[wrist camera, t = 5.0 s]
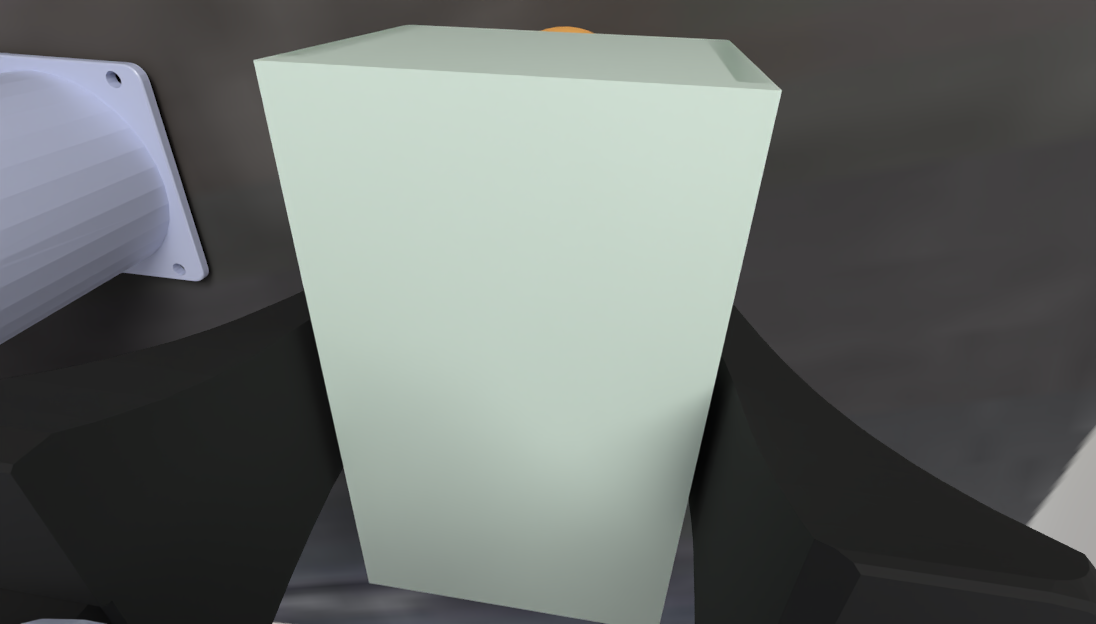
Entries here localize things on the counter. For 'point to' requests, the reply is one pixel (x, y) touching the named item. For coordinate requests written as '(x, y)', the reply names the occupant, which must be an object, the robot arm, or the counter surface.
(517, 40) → the pale green block
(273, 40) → the counter surface
